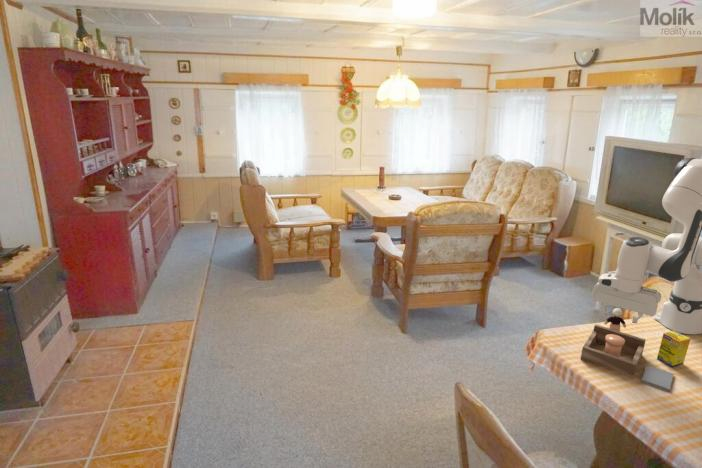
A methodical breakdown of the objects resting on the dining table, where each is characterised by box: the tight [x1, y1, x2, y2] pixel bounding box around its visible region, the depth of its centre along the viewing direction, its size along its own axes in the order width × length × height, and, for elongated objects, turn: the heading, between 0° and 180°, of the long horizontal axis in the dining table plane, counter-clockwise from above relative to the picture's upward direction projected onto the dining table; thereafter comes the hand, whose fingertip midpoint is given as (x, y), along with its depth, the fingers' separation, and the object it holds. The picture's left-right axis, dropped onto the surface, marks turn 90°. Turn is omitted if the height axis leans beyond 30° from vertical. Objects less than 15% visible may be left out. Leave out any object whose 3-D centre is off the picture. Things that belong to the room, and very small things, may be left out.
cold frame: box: [580, 323, 646, 378], centre depth 167 cm, size 17×17×7 cm
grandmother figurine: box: [603, 307, 627, 332], centre depth 179 cm, size 8×4×13 cm, turn 84°
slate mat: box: [640, 364, 675, 393], centre depth 156 cm, size 11×8×1 cm
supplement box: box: [656, 330, 691, 368], centre depth 164 cm, size 6×6×11 cm
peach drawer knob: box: [603, 334, 625, 358], centre depth 167 cm, size 6×6×8 cm
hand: (619, 318), depth 163 cm, fingers open, 8 cm apart
